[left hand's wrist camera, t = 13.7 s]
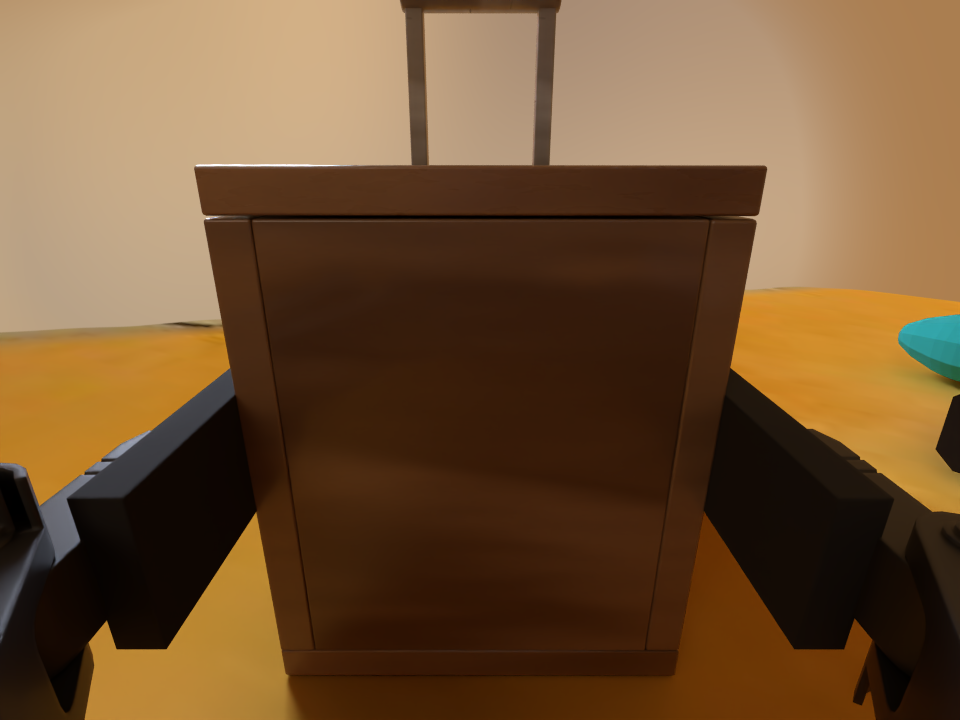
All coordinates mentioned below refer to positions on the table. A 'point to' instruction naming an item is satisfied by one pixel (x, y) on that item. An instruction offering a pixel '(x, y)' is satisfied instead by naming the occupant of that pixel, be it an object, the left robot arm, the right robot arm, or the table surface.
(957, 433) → the toy gun
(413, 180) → the lid
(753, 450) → the left robot arm
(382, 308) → the chest
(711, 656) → the table surface
